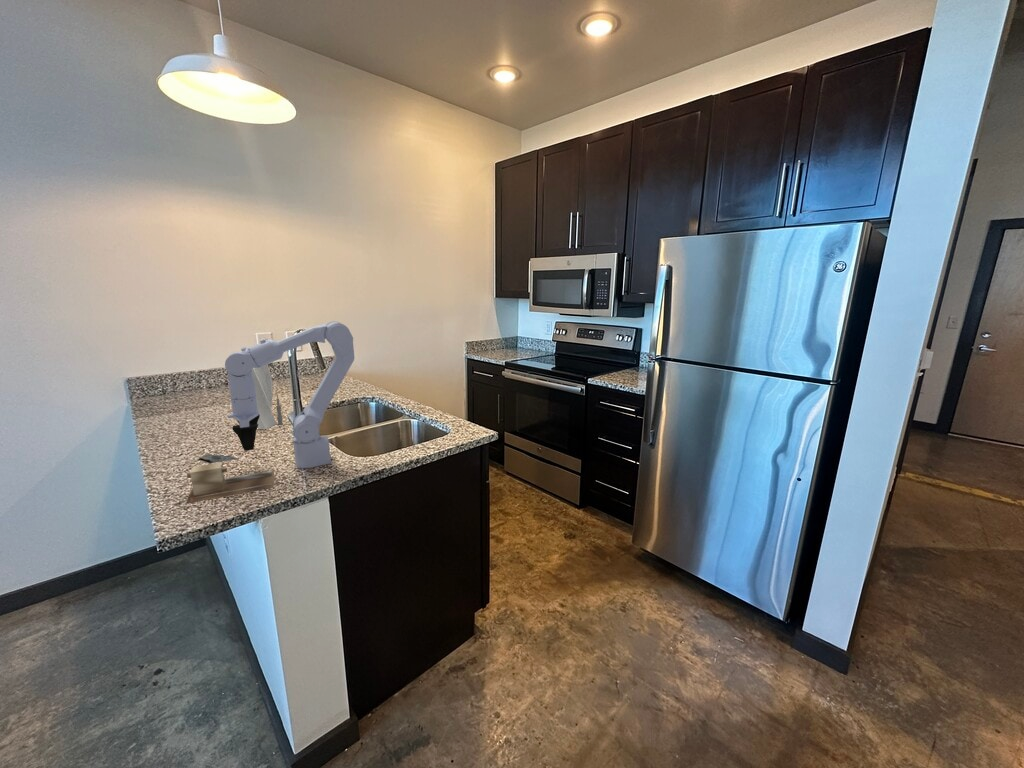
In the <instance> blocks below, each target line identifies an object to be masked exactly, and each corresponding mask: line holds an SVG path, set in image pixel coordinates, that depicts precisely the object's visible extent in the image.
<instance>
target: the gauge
mask: <svg viewBox="0 0 1024 768" xmlns="http://www.w3.org/2000/svg"><path fill="white" fill-rule="evenodd" d="M225 473H228V468H227V467H224V466H223V461H221V462H213V463H209V464H203V465H201V464H200V465H196V466H195V465H194V466H193V467H192V468H191V470H190V473H187V474H186V477H187V479H190V480H191V486H192V488H193V493H194V495H200V494H205V493H211V492H217V491H222V490H224V487H225V478H226V477H225Z"/></svg>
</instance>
